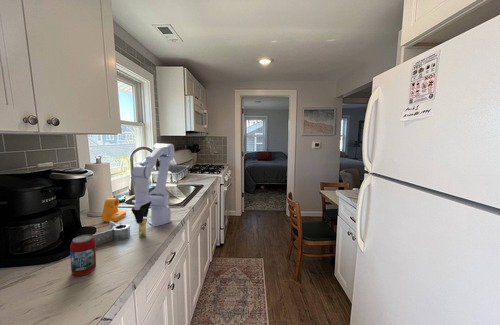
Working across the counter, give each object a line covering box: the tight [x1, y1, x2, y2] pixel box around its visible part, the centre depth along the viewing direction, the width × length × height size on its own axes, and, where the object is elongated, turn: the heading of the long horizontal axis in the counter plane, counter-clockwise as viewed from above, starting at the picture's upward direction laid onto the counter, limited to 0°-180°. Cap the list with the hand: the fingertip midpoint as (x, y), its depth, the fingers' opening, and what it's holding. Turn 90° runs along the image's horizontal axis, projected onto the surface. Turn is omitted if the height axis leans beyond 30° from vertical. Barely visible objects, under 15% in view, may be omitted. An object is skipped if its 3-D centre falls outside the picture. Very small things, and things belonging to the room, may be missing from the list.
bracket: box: [101, 197, 127, 222], centre depth 119 cm, size 11×7×12 cm, turn 179°
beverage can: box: [69, 234, 97, 277], centre depth 73 cm, size 7×7×12 cm
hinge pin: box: [137, 218, 148, 239], centre depth 100 cm, size 4×4×8 cm
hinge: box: [92, 221, 131, 247], centre depth 97 cm, size 14×14×5 cm
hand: (142, 219), depth 99 cm, fingers open, 7 cm apart
